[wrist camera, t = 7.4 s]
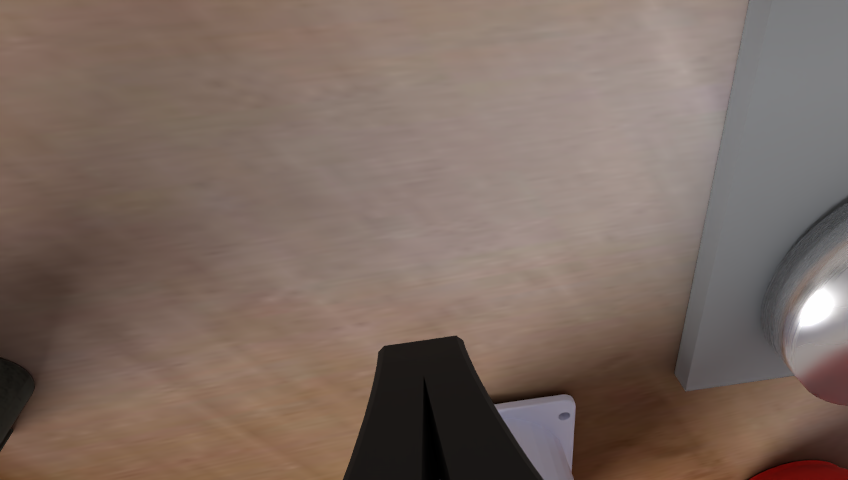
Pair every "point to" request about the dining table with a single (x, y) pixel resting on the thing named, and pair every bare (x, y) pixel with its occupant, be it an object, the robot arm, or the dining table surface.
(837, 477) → the ceramic cup
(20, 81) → the dining table surface
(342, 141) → the dining table surface
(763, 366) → the stand
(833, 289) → the crank wheel
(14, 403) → the black and white bottle
